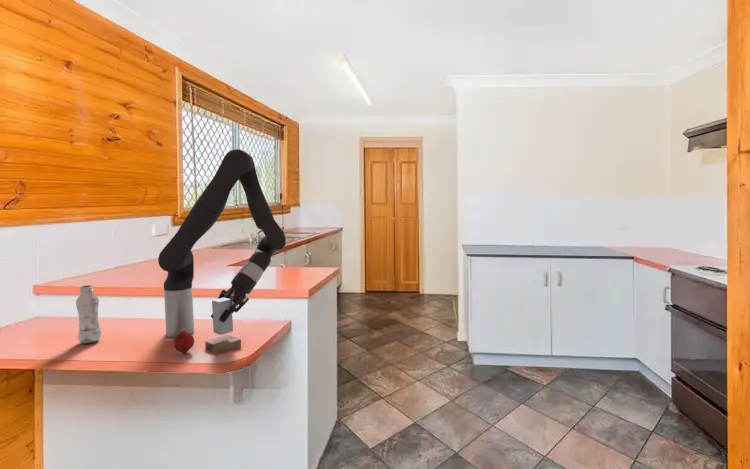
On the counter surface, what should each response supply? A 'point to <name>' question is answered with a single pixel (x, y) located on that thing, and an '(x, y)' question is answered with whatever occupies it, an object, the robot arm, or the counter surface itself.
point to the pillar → (218, 310)
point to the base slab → (223, 344)
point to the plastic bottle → (88, 315)
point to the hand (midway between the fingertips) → (217, 319)
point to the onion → (183, 341)
